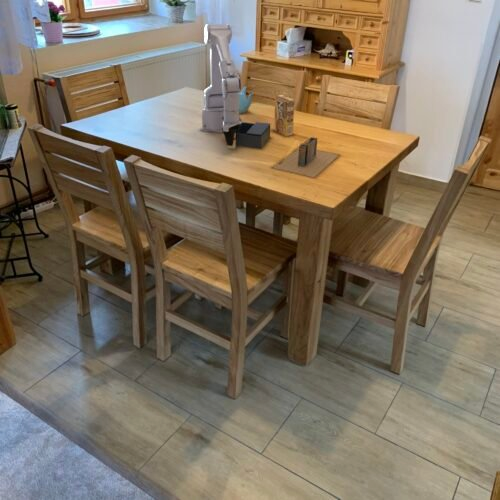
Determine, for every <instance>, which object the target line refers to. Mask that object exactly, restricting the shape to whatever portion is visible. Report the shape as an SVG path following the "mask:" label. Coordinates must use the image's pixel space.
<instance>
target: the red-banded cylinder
mask: <svg viewBox="0 0 500 500" xmlns="http://www.w3.org/2000/svg"><path fill="white" fill-rule="evenodd" d="M226 145H227V144H226ZM236 147H237V146H236V132H235V135H234V141H233V145H232V146H228V145H227V148H228V149H231V150H232V149H235V148H236Z"/></svg>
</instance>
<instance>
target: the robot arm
mask: <svg viewBox="0 0 500 500" xmlns="http://www.w3.org/2000/svg"><path fill="white" fill-rule="evenodd" d="M232 37H233V29H232V26H231V24H229V23H225V24H224V23H222V24H221V23H219V24H218V23H217V24H207V23H206V24H205V26H204V44H205V45H206V46H208V47H209V66H210V67H209V69H210V85H209V86H207V88H205V89H204V93H203V106H204V108H203V109H202V113H201V127H202V128H201V130H202V131H203V132H205V131H207V132H215V133H223V135H224V138H225V142H226V145H228V146H232V145H233V141H234V135H235V132H236V139H237V134H238V131H239V128H240V126H241V123H242V122H243V120H241V121H239V117H240V114H239V93H240V92H242V80H241V77H240V76H239V73H237V69H236V65H235V61H234V59H231V52H230V45H229V44H231V41H232ZM238 92H239V93H238ZM223 116H224V121H223V119H222V117H223Z"/></svg>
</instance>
